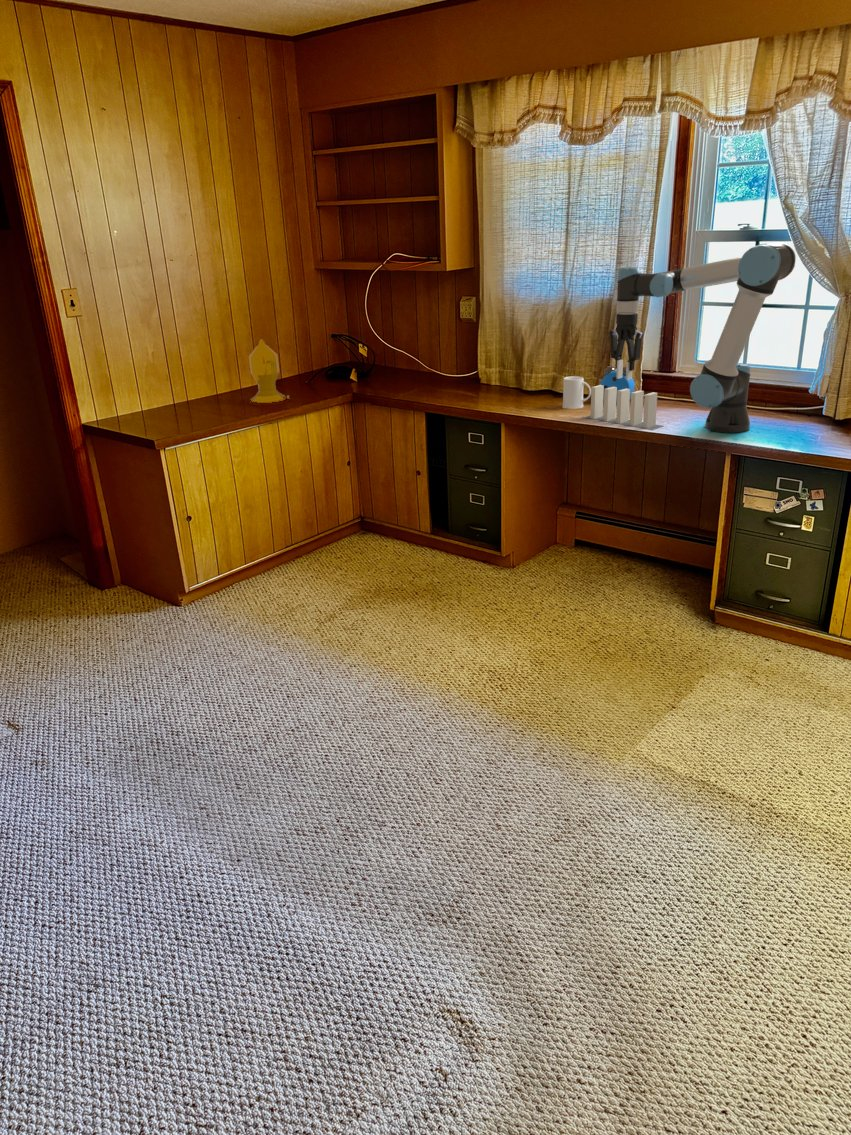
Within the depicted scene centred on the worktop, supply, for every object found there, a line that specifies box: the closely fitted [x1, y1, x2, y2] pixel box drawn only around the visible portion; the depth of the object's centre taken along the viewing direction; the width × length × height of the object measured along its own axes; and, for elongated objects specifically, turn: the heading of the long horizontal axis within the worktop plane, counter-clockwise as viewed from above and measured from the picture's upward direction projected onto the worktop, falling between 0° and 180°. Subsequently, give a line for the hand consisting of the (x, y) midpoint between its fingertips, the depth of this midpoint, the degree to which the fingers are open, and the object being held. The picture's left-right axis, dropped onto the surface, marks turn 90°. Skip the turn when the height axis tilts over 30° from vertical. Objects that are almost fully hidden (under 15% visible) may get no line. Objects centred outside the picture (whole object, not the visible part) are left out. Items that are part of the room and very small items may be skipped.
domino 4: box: [629, 389, 645, 426], centre depth 309 cm, size 2×5×12 cm, turn 131°
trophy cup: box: [248, 338, 290, 403], centre depth 378 cm, size 18×24×28 cm
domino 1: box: [590, 384, 604, 419], centre depth 322 cm, size 2×5×12 cm, turn 132°
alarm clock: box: [599, 365, 636, 405], centre depth 344 cm, size 13×6×15 cm, turn 55°
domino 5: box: [642, 391, 658, 428], centre depth 305 cm, size 2×5×12 cm, turn 132°
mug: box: [562, 375, 591, 410], centre depth 341 cm, size 12×8×12 cm
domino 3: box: [615, 389, 631, 423], centre depth 314 cm, size 2×5×12 cm, turn 131°
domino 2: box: [603, 387, 617, 421], centre depth 318 cm, size 2×5×12 cm, turn 131°
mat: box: [582, 414, 665, 431], centre depth 316 cm, size 32×8×1 cm, turn 41°
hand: (624, 378), depth 310 cm, fingers open, 4 cm apart
